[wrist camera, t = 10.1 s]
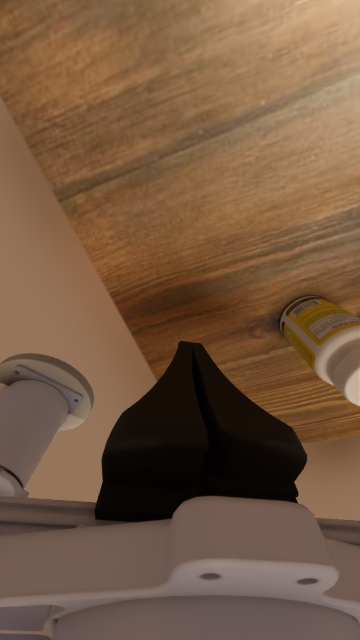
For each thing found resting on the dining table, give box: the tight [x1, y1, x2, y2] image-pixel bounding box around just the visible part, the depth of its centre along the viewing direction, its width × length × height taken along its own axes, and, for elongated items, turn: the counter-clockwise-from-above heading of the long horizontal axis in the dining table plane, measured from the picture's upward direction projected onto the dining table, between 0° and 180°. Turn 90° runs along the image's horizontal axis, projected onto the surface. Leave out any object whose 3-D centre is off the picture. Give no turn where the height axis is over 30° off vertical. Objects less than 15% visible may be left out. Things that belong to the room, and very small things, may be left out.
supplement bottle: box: [280, 296, 360, 406], centre depth 16 cm, size 5×5×8 cm
